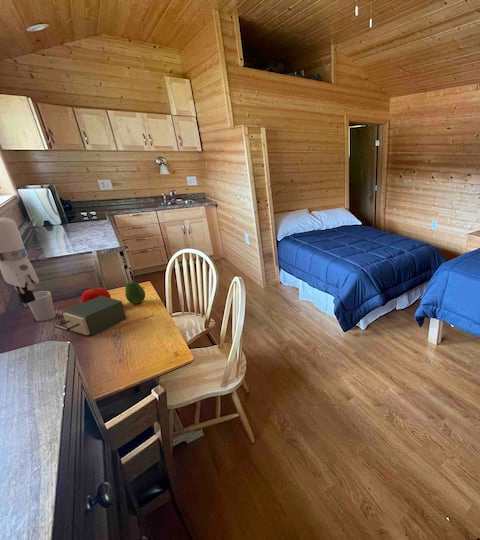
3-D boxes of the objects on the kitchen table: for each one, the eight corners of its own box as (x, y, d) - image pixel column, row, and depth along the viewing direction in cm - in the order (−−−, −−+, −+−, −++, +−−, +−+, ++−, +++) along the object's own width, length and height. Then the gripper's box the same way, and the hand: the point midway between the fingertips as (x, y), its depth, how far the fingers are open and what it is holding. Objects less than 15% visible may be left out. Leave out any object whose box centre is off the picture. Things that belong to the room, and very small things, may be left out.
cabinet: (91, 336, 126) (85, 316, 122) (70, 329, 129) (64, 310, 125) (126, 319, 139) (121, 301, 135) (106, 313, 142) (101, 295, 138)
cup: (62, 317, 137) (54, 293, 132) (39, 325, 130) (30, 301, 125) (53, 312, 139) (45, 289, 135) (30, 320, 133) (20, 296, 128)
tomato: (78, 312, 141) (71, 291, 137) (99, 301, 151) (93, 282, 147) (98, 315, 140) (91, 294, 136) (118, 304, 150) (112, 285, 146)
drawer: (73, 342, 120) (67, 325, 117) (54, 335, 123) (48, 319, 120) (120, 319, 137) (116, 304, 134) (101, 314, 139) (97, 299, 136)
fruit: (148, 303, 153) (143, 282, 148) (129, 308, 147) (124, 286, 143) (145, 297, 158) (140, 277, 153) (126, 302, 152) (121, 281, 148)
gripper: (39, 255, 104) (55, 301, 111) (11, 248, 107) (28, 293, 114) (10, 261, 97) (29, 310, 104) (-19, 254, 101) (1, 301, 108)
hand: (28, 301), depth 109 cm, fingers closed
